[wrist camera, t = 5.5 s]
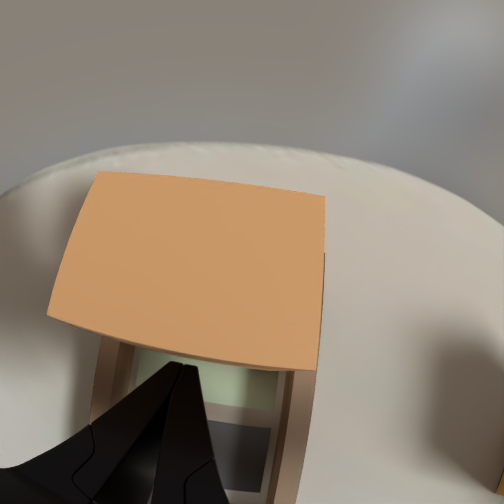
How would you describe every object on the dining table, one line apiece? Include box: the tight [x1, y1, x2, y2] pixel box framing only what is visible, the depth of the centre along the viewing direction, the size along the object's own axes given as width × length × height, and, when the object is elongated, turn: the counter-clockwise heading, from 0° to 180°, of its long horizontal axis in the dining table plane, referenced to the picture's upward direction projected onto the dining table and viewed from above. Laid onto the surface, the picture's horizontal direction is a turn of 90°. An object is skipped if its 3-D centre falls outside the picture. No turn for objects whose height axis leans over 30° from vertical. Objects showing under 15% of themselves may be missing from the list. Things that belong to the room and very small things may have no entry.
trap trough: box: [89, 253, 325, 504], centre depth 12 cm, size 18×10×3 cm, turn 172°
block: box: [46, 171, 325, 371], centre depth 10 cm, size 4×6×9 cm, turn 82°
